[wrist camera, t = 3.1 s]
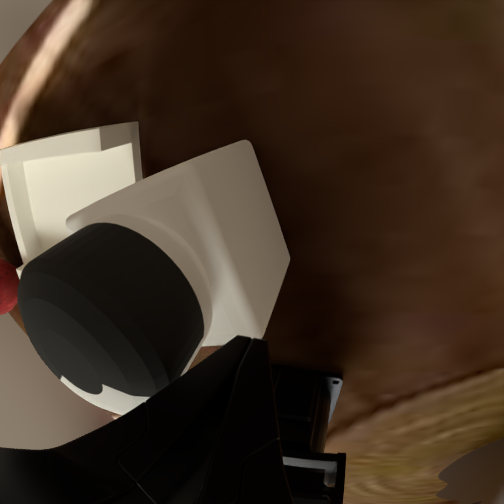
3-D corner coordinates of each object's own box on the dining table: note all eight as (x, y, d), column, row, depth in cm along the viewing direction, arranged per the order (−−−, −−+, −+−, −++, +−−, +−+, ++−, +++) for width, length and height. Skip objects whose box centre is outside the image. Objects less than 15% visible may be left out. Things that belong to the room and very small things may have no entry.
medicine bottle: (144, 178, 18) (-25, 273, 7) (251, 137, 15) (71, 216, 5) (188, 279, 20) (76, 421, 10) (292, 259, 18) (222, 455, 7)
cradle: (158, 287, 21) (132, 316, 18) (45, 263, 24) (20, 281, 21) (138, 121, 16) (99, 128, 13) (20, 143, 19) (-11, 153, 16)
